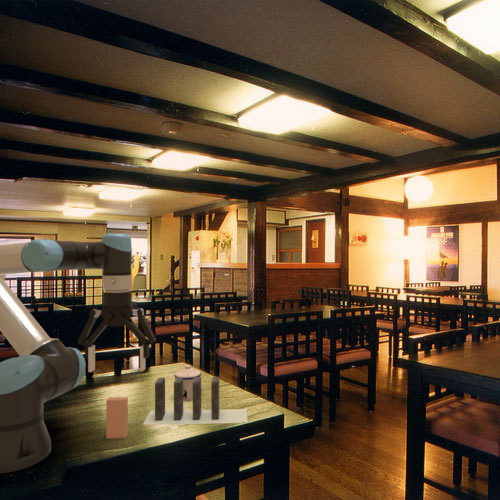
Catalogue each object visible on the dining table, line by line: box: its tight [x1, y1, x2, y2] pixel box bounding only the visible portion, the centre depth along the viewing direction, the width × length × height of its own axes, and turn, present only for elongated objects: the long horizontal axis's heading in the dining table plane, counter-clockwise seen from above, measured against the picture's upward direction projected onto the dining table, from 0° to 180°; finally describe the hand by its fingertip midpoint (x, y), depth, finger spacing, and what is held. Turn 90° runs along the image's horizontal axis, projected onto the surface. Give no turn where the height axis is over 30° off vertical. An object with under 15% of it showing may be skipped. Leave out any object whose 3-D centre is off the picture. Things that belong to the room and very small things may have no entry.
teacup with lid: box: [174, 364, 203, 402], centre depth 132 cm, size 12×9×12 cm
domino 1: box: [105, 396, 129, 439], centre depth 104 cm, size 2×5×11 cm, turn 91°
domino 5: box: [210, 376, 220, 420], centre depth 117 cm, size 2×5×11 cm, turn 1°
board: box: [142, 408, 248, 426], centre depth 116 cm, size 30×10×1 cm, turn 92°
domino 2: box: [154, 377, 166, 421], centre depth 116 cm, size 2×5×11 cm, turn 1°
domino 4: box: [192, 376, 202, 420], centre depth 117 cm, size 2×5×11 cm, turn 1°
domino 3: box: [173, 377, 184, 420], centre depth 116 cm, size 2×5×11 cm, turn 2°
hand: (117, 370), depth 104 cm, fingers open, 13 cm apart
